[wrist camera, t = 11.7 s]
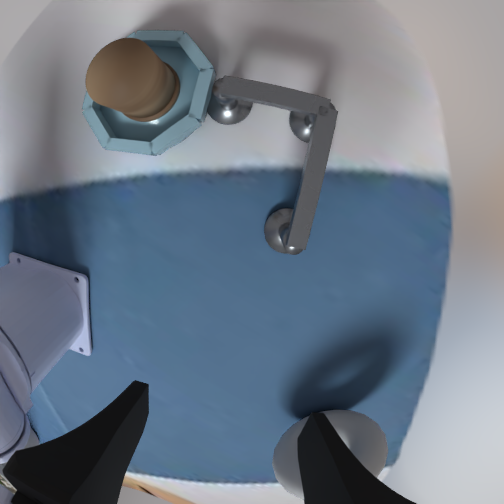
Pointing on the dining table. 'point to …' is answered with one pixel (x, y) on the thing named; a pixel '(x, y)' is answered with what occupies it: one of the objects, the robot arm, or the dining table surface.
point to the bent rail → (305, 128)
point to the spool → (132, 80)
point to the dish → (182, 113)
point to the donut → (351, 432)
